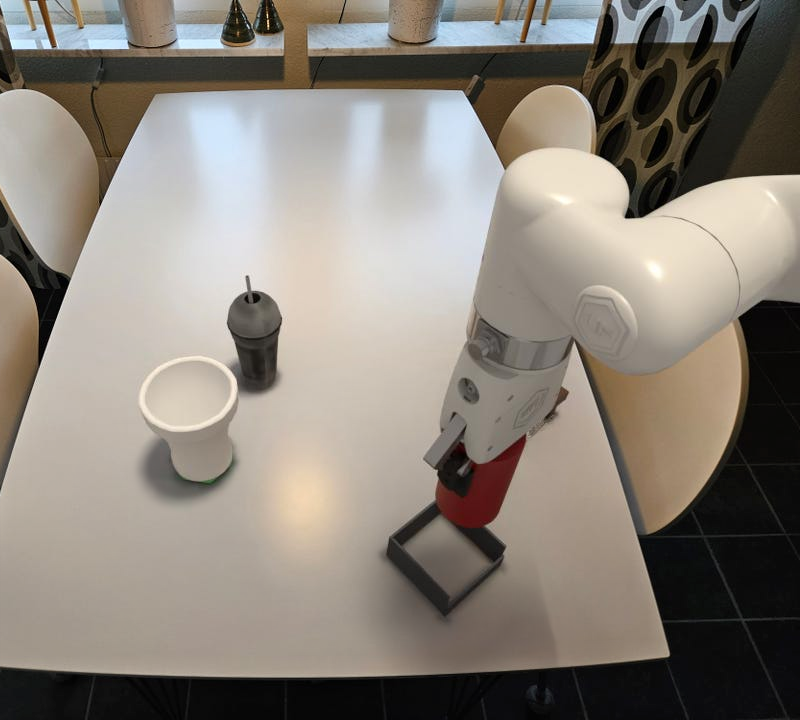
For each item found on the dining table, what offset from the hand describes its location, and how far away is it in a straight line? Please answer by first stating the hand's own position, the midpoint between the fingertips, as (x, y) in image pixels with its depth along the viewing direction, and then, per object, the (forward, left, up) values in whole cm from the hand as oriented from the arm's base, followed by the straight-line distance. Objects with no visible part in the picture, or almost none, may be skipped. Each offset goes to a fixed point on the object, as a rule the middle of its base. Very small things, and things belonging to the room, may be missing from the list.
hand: (478, 463), depth 59 cm
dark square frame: (0, 0, -21) cm, 21 cm away
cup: (+29, +14, -21) cm, 39 cm away
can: (0, 0, -6) cm, 6 cm away
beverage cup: (+36, 0, -21) cm, 42 cm away
